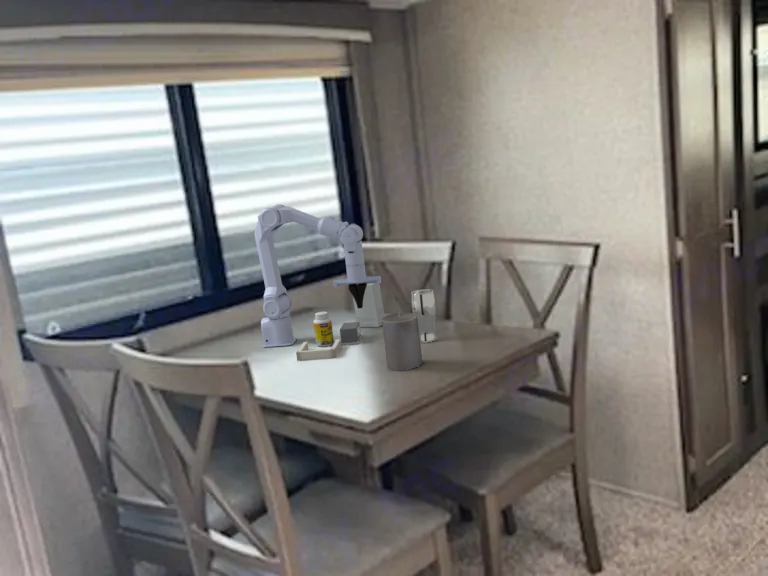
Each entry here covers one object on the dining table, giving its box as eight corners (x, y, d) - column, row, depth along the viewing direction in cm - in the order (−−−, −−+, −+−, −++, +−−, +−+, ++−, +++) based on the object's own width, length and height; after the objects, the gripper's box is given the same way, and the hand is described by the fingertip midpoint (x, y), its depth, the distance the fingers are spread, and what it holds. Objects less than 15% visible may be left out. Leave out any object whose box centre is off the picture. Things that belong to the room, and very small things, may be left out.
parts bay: (297, 360, 226) (296, 352, 226) (304, 349, 237) (303, 341, 237) (335, 357, 225) (334, 349, 225) (341, 346, 236) (340, 339, 236)
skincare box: (385, 323, 260) (381, 279, 257) (378, 327, 254) (373, 283, 251) (363, 323, 263) (358, 280, 260) (355, 327, 258) (350, 284, 255)
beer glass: (413, 343, 230) (408, 294, 228) (418, 337, 237) (413, 289, 234) (436, 343, 229) (431, 293, 226) (440, 336, 235) (435, 288, 232)
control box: (339, 346, 237) (337, 330, 236) (344, 337, 247) (342, 322, 246) (358, 344, 237) (357, 328, 236) (362, 336, 246) (361, 320, 245)
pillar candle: (394, 359, 216) (388, 308, 213) (427, 360, 213) (421, 307, 210) (381, 371, 208) (375, 317, 205) (416, 371, 204) (409, 316, 201)
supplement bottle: (321, 348, 237) (317, 316, 235) (313, 345, 241) (309, 313, 239) (337, 344, 240) (333, 312, 238) (328, 341, 244) (324, 309, 242)
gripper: (380, 260, 239) (384, 302, 242) (334, 264, 241) (339, 306, 244) (377, 264, 233) (382, 307, 235) (330, 268, 234) (335, 311, 237)
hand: (360, 307), depth 239 cm, fingers closed
